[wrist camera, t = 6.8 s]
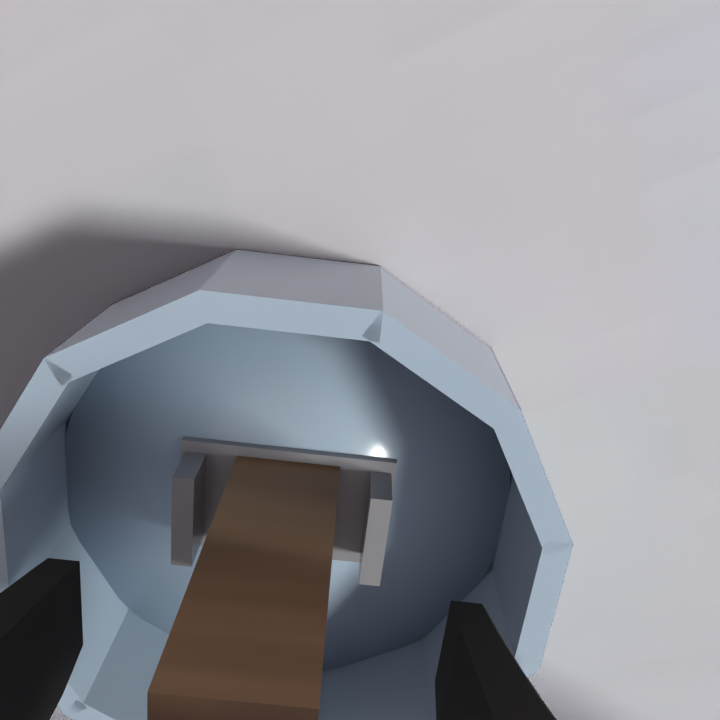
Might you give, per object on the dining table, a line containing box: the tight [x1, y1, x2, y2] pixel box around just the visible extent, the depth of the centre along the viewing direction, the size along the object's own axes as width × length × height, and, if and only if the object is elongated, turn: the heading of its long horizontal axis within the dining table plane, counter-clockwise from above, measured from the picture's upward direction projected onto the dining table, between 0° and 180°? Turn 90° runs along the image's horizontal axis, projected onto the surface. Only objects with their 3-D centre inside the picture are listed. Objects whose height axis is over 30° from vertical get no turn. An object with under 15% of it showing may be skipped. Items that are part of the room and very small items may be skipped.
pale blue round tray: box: [0, 250, 573, 720], centre depth 16 cm, size 12×12×4 cm
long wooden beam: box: [147, 456, 340, 720], centre depth 14 cm, size 2×2×7 cm
